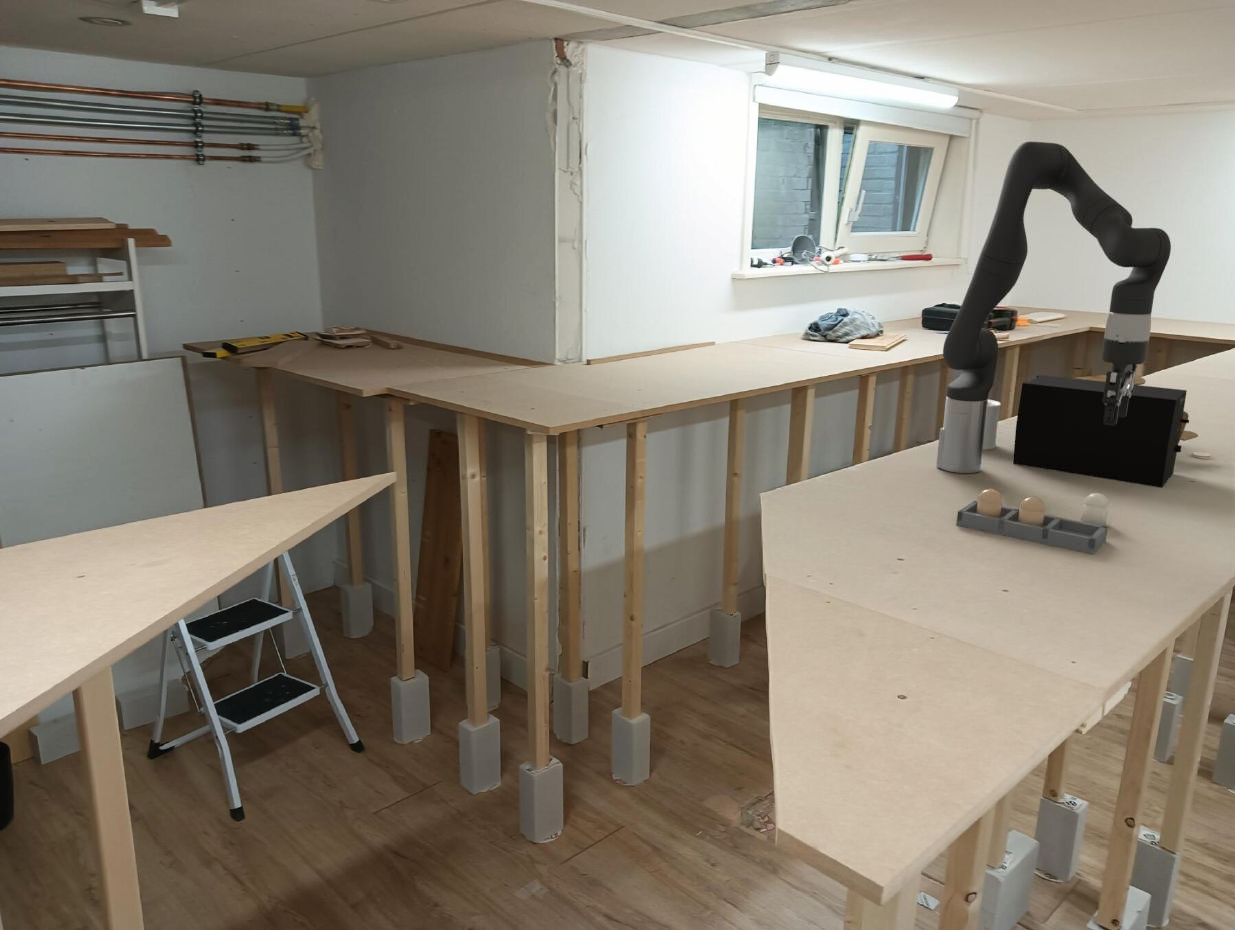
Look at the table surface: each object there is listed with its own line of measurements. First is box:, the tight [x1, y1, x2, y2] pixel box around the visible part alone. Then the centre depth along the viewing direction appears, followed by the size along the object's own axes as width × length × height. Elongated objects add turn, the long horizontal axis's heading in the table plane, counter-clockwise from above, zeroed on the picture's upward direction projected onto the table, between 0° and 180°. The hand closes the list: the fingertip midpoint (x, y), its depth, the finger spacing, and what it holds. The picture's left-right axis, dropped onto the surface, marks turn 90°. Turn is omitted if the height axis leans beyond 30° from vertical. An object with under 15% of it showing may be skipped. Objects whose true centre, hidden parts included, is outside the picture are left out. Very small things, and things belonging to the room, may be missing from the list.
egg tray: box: [956, 500, 1109, 555], centre depth 181 cm, size 25×9×3 cm, turn 50°
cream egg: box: [1080, 492, 1109, 527], centre depth 186 cm, size 4×4×6 cm
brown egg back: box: [977, 488, 1003, 518], centre depth 186 cm, size 4×4×6 cm
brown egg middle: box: [1018, 496, 1046, 527], centre depth 181 cm, size 4×4×6 cm
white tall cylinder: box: [983, 399, 1002, 451], centre depth 244 cm, size 10×9×20 cm
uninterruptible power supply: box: [1012, 374, 1190, 489], centre depth 222 cm, size 16×34×20 cm, turn 52°
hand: (1114, 420), depth 182 cm, fingers open, 8 cm apart
